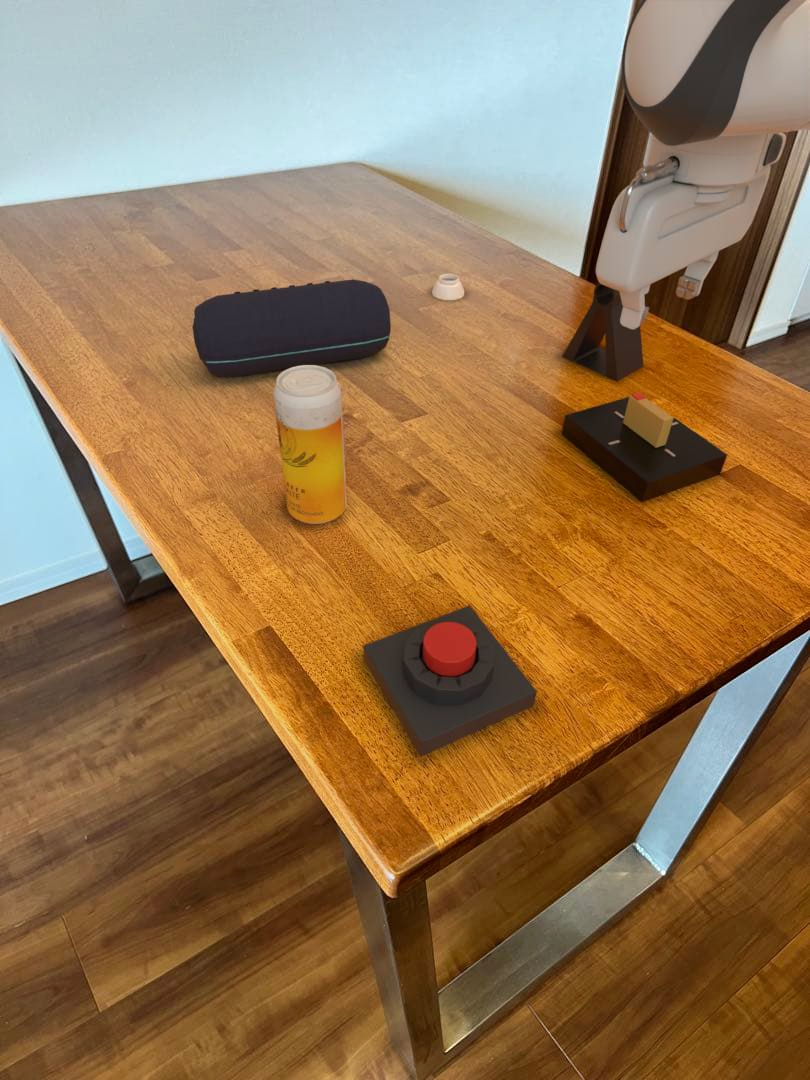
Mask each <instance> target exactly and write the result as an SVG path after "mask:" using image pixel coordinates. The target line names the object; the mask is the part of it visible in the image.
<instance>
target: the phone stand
mask: <svg viewBox="0 0 810 1080" xmlns="http://www.w3.org/2000/svg"><path fill="white" fill-rule="evenodd" d="M622 309H623V305H622V301H621V297H620V292H619V291H618V290H615V289H612V288H610V287H607V286H605V285H602V284H600V283H599V282H598V283H597V284H596V286H595V287H594V289H593V298H592V302H591V304H590V306H589V308H588V310H587V312H586V313H585V316H584V317H583V319H582V320H581V322H580V324H579V326H578V327H577V329H576V330H575V333H574V334H573V336H572V338H571V340H570V342H569V343H568V345H567V347H566V349H565V350H564V351H563V353H562V355H561V357H562V358H564V359H566V360H569V361H571V362H573V363H575V364H578V365H580V366H582V367H584V368H586V369H588V370H591V371H593V372H595V373H598V374H600V375H602V376H604V377H606V378H608V379H611V380H613V381H616V382H620V381H621V380H623V379H624V378H627V377H628V376H630V375H632V374H633V373H635V372H637V371H638V370H640V369H641V368H644V357H643V344H642V331H641V326H640V327H638V328H636V329H630V328H627V327H625V326H622V324H621V323H620V318H621V313H622ZM603 339H604V340H605V349H604V348H602V347H601V346H600V345H601V343H602V341H603Z"/></svg>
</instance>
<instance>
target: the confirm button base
mask: <svg viewBox="0 0 810 1080" xmlns="http://www.w3.org/2000/svg"><path fill="white" fill-rule="evenodd" d="M443 622H454V623H458V624H461V625H463V626H465V627H467V628H468V629H469V630H470V631H471V632H472V633H473V634H474V636H475V638H476V653H475V660H474V664H473V666H472V667H471V668H470V669H469V670H468V671H467V672H466V673H464V674H462V675H459V676H455V677H446V676H441V675H438V674H436V673H434V672H432V671H431V670H430V669H429V668H428V667H427V666H426V664H425V662H424V660H423V640H424V636H425V634H426V632H427V631H428V630H429V629H430V628H431V627H432V626H434V625H436V624H439V623H443ZM362 647H363V648H362V649H363V662H364V664H365V665H366V667H367V668H368V670H369V672H370V674H371V676H372V677H373V678H374V680H375V682H376V683H377V685H378V687H379V689H380V690H381V692H382V694H383V695H384V697H385V699H386V701H387V702H388V705H389V706H390V708H391V710H392V712H394V714H395V716H396V718H397V720H398V721H399V722H400V724H401V726H402V728H403V729H404V731H405V733H406V735H407V736H408V738H409V740H410V741H411V743H412V745H413V746H414V748H415V750H416V752H417V753H418V755H419V757H423V756H425V755H428V754H431V753H432V752H434V751H436V750H439V749H441V748H444V747H446V746H447V745H450V744H453V743H455V742H457V741H459V740H461V739H464V738H466V737H468V736H470V735H472V734H474V733H476V732H479V731H481V730H484V729H485V728H488V727H490V726H493V725H495V724H497V723H500V722H501V721H504V720H505V719H508V718H510V717H513V716H514V715H517V714H519V713H521V712H524V711H526V710H528V709H530V708H532V707H534V706H535V702H536V697H537V693H538V691H537V690H536V688H535V687H534V685H532V683H531V682H530V681H529V680H528V678H527V677H526V675H525V674H524V673H523V672H522V671H521V669H520V668H519V666H518V665H517V664H516V663H515V662H514V660H513V659H512V657H511V656H510V655H509V654H508V652H507V651H506V650H505V648H504V647H503V646H502V644H501V643H500V642H499V641H498V640H497V638H496V637H495V636H494V634H493V633H492V632H491V631H490V629H489V627H487V625H486V624H485V622H484V621H483V620H482V619H481V618H480V617H479V615H478V614H477V613H476V612H475V610H474V609H473V607H472V606H471V605H467V606H464V607H462V608H459V609H457V610H454V611H451V612H449V613H446V614H443V615H440V616H438V617H435V618H432V619H430V620H428V621H425V622H422V623H420V624H417V625H414V626H412V627H409V628H407V629H404V630H401V631H399V632H396V633H393V634H391V635H388V636H385V637H383V638H380V639H377V640H374V641H372V642H369V643H367V644H364V645H363V646H362Z"/></svg>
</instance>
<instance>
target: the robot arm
mask: <svg viewBox="0 0 810 1080" xmlns="http://www.w3.org/2000/svg"><path fill="white" fill-rule="evenodd" d="M623 43H624V44H623V50H622V55H621V80H622V86H623V90H624V93H625V96H626V98H627V100H628V103H629V105H630V106H631V109H632V110H633V112H634V114H635V116H636V117H637V118H638V120H639V121H640V122H641V123H642V125H643V126H644V127H645V128H646V130H647V131H648V132H649V134H648V135H649V136H648V139H647V144H646V149H645V152H644V158H643V161H642V162H643V163H642V164H643V167H641V168H639V169H638V170H637V171H636V173H635V177H634V178H633V179H632V180H631V182H630V184H629V185H627V186H626V187H625V188H624V189H623V190H621V192H620V193H619V194H618V196H617V197H616V199H615V201H614V203H613V205H612V208H611V211H610V214H609V217H608V220H607V224H606V227H605V230H604V234H603V237H602V241H601V245H600V249H599V253H598V257H597V260H596V264H595V275H596V278H597V281H598V283H600V284H602V285H605V286H607V287H610V288H612V289H615V290H618V291H619V292H620V297H621V301H622V305H623V309H622V313H621V318H620V323H621V324H622V326H625V327H627V328H630V329H636V328H638V327H640V328H641V327H642V326H643V325H645V324H646V322H647V316H648V315H649V310H650V307H649V306H646V304H645V303H646V302H645V300H646V299H645V295H647V294H648V293H649V292H650V288H651V284H655V283H656V282H659V281H660V280H662V279H664V278H667V277H668V276H671V275H672V274H674V273H676V272H679V271H680V270H683V269H684V268H686V269H685V272H684V274H683V275H682V276H680V277H679V278H678V282H677V287H676V289H675V295H676V296H677V298H680V299H684V300H686V301H690V300H691V299H694V298H696V297H698V296H699V295H700V294H701V290H702V287H703V284H704V281H705V279H706V278H707V276H708V274H709V272H710V271H711V270H712V267H713V266H714V264H715V262H716V261H717V259H718V256H719V252H720V251H722V250H724V249H725V248H728V247H730V246H732V245H734V244H736V243H738V242H740V241H741V240H742V239H743V238H744V236H745V235H746V234H747V232H748V230H749V228H750V227H751V225H752V223H753V221H754V219H755V216H756V214H757V211H758V209H759V206H760V204H761V200H762V198H763V195H764V193H765V190H766V187H767V184H768V181H769V178H770V174H771V165H774V164H775V163H777V162H779V160H780V158H781V156H782V154H783V151H784V148H785V145H786V142H787V141H786V140H787V135H786V134H785V133H790V132H798V131H810V0H641V1H640V2H639V5H638V6H637V8H636V9H635V12H634V13H633V16H632V18H631V21H630V22H629V26H628V29H627V31H626V35H625V39H624V42H623Z"/></svg>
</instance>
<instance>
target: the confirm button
mask: <svg viewBox="0 0 810 1080" xmlns="http://www.w3.org/2000/svg"><path fill="white" fill-rule="evenodd" d="M475 653H476V638H475V636H474V634H473V633H472V632H471V631H470V630H469V629H468V628H467V627H465V626H463V625H461V624H458V623H454V622H443V623H439V624H436V625H434V626H432V627H431V628H430V629H429V630H428V631H427V632H426V634H425V636H424V640H423V660H424V662H425V664H426V666H427V667H428V668H429V669H430V670H431V671H432V672H434V673H436V674H438V675H441V676H446V677H455V676H459V675H462V674H464V673H466V672H467V671H468V670H469V669H470V668H471V667H472V666H473V664H474V660H475Z"/></svg>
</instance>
